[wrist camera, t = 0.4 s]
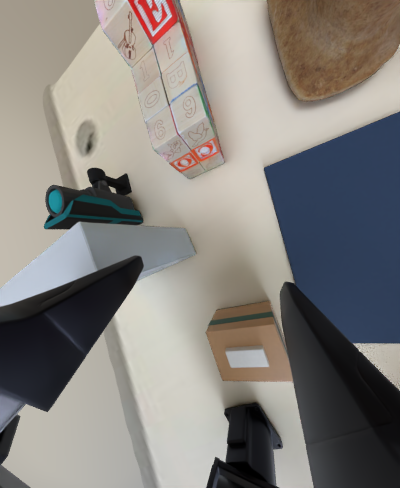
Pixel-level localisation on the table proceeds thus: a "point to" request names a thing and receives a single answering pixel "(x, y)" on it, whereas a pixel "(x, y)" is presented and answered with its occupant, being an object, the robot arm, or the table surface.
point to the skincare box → (97, 255)
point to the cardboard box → (249, 344)
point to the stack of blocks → (165, 80)
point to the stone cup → (333, 42)
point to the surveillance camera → (91, 203)
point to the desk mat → (346, 228)
